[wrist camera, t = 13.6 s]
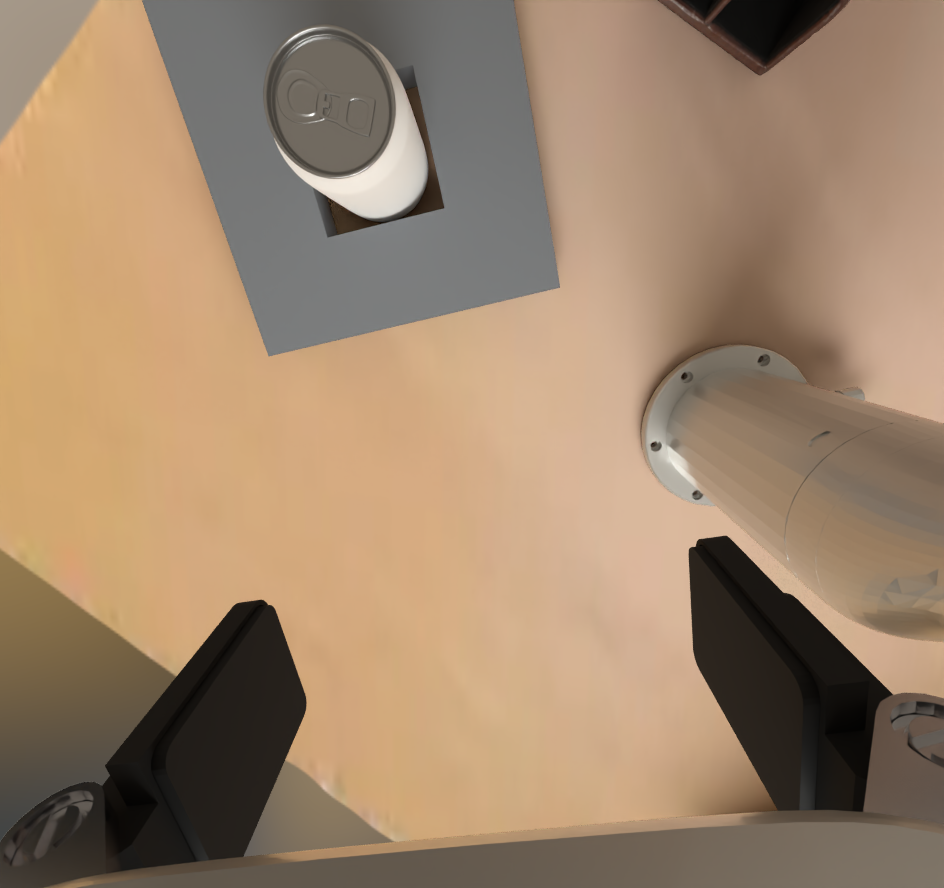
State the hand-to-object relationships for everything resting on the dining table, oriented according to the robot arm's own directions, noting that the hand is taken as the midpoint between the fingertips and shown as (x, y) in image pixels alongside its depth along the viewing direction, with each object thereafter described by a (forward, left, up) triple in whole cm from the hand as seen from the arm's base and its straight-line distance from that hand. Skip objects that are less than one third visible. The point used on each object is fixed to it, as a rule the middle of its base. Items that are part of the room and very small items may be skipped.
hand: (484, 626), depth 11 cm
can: (+3, -16, -27) cm, 31 cm away
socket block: (+3, -16, -27) cm, 31 cm away
